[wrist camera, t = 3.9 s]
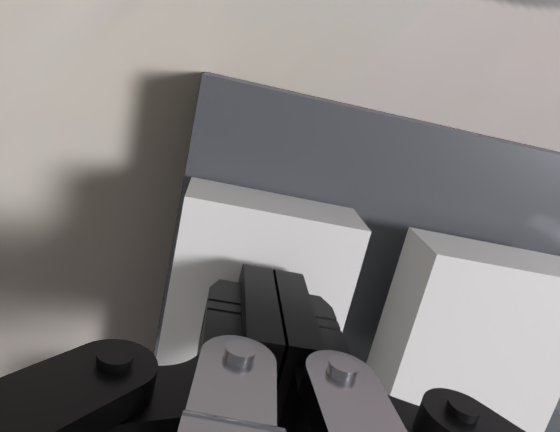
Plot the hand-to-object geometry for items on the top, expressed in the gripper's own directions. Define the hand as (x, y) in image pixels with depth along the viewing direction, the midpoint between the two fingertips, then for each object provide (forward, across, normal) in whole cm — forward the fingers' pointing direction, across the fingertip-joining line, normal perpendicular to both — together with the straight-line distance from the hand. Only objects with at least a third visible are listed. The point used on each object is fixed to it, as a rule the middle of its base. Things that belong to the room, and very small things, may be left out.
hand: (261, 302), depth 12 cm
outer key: (+2, 0, 0) cm, 2 cm away
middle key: (+1, -6, 0) cm, 6 cm away
